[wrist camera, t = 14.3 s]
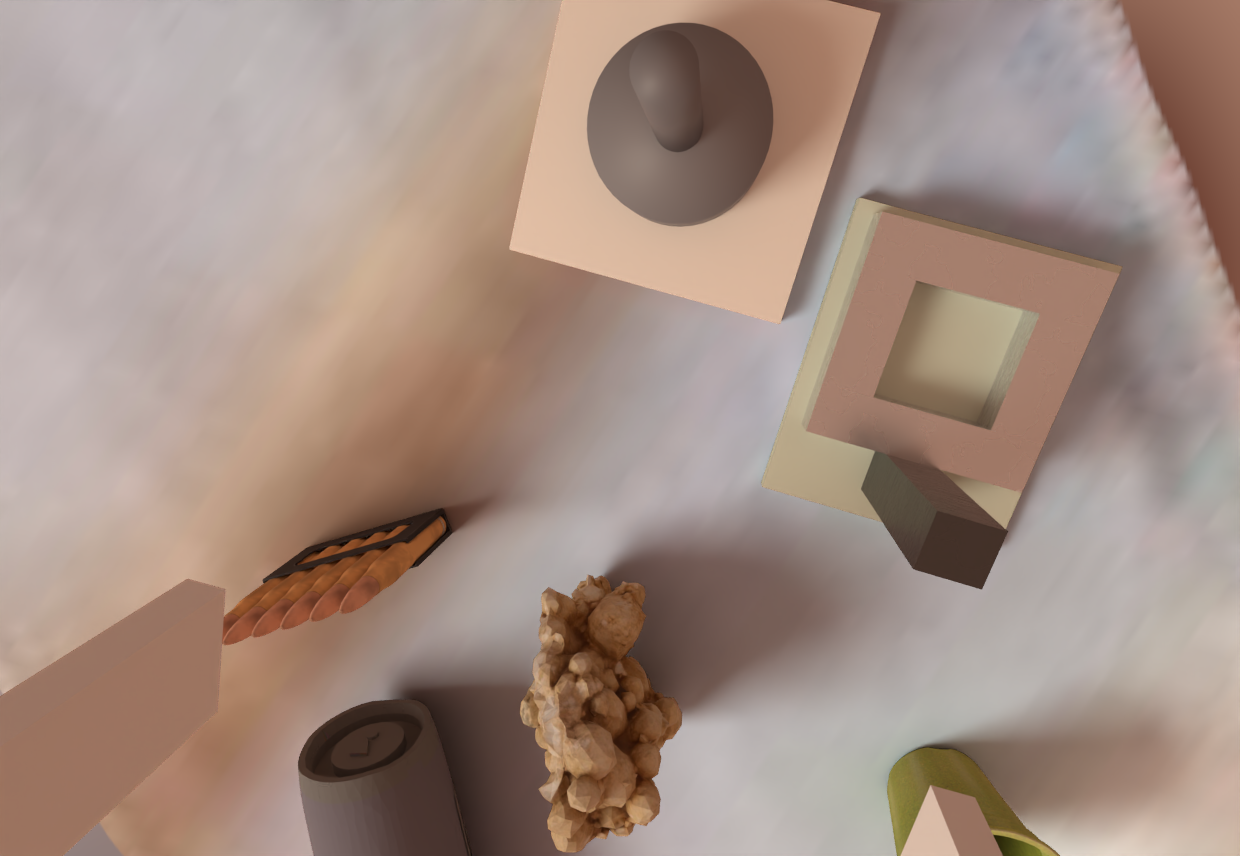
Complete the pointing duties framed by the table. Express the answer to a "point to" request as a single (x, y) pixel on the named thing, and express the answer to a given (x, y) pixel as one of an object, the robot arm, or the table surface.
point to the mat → (902, 374)
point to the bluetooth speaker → (380, 785)
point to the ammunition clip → (336, 576)
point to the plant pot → (960, 776)
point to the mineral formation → (596, 714)
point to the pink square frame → (931, 440)
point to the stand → (690, 142)
